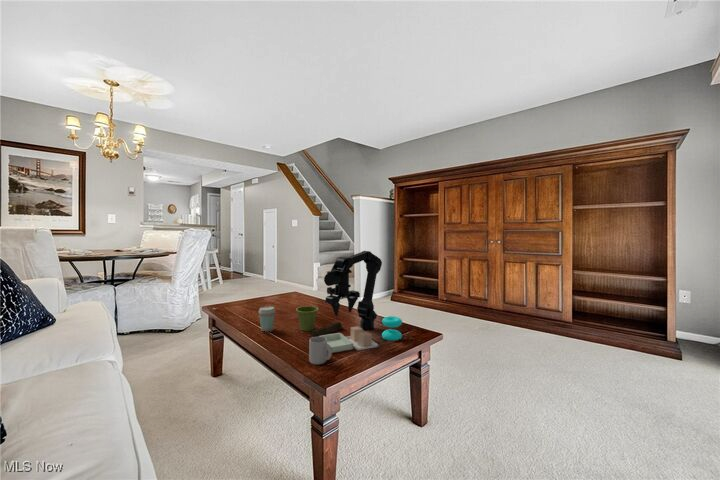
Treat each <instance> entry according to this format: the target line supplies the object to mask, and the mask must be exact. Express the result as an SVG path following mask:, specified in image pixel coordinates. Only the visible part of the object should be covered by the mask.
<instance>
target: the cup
mask: <svg viewBox="0 0 720 480" xmlns="http://www.w3.org/2000/svg"><path fill="white" fill-rule="evenodd" d="M308 340H309V345H308V346H309V347H308V350H309V351H308V357H309V358H308V362H310V363H311V365H323V364H325V363H326V362H327V361H328V360H329V361H330V360H331V357H332V354H333V353H332V350H331V346H330V345H329V344H327V338H325V337H313V336H312V337H310V338H309V339H308Z"/></svg>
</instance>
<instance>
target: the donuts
mask: <svg viewBox="0 0 720 480" xmlns="http://www.w3.org/2000/svg"><path fill="white" fill-rule="evenodd" d="M381 322H382V324H383V326H385V327H387V328H391V329H385V330H384V331H383V332H382V333H381V337H382V338H383V340H387V341H399V339H400V340H401V339H402V337H403V334H402V332H401V331H400V330H397V329H392V328H398V327H400V326H402V324H403V320H402V318H400V317H399V316H398V317H397V316H385V317H383V318H382V320H381Z"/></svg>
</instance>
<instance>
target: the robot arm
mask: <svg viewBox="0 0 720 480" xmlns="http://www.w3.org/2000/svg"><path fill="white" fill-rule="evenodd" d="M335 259H336V260H335V261H334V264H333V265H332V267H331V269H330V270H328V271H326V274H325V276H324V278H323V281H324V284H325V285H326V286H327V288H326V294H327V296H326V297H325V303H327V304H329V305H330V306H331V308H332V310H333V313H334V316H335V317H338V316H339V310H340V304H341V303H340V302H341V301H340V300H344V299H346V300H347V305H348V309H347V310H348V312H349V313H351V312H352V310H353V308H354V306H355V304H356V302H357V301H358V299H359V298H361V294H360V291H357V290H350V288H351V286H352V285H351V284H350V274H352V273H353V272H352V270H351V269H352V267H353V266H354V265H355V264H357V263H360V262H363V263H364V264H365V268H366V271H367V274H366V281H365V284H364V285H365V287H364V290H363V291H364V292H363V297H362V299H361V301H358V304H357V308H356V309H357V315H358V318H361V319H360V326H359V327H361V328H362V329H363V332H368V331H374V330H376V328H375V320H376V319H377V317H378V314H377V312H376V311H375V310H374V309H375V305H374V303H373V298H374V297H373V295H374V291H375V285H376V280H377V274H379V272H380V271H381V268H382V265H383V262H382V259H381V258H380V257H379V256H377V255H375V254H373V252H371V251H370V250H362V251H361V252H358V253H355V254H352V255H349V256H339V257H337V258H335ZM332 286H334V287H332Z"/></svg>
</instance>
